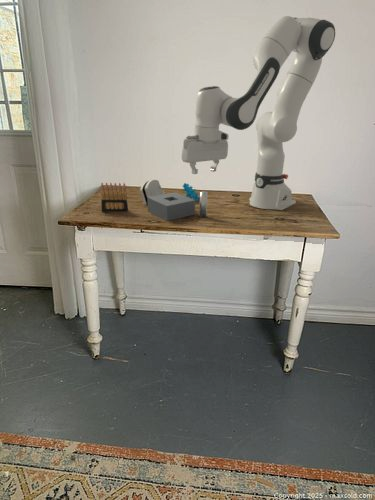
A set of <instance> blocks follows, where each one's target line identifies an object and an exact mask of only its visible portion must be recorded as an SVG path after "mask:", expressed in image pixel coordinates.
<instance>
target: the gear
mask: <svg viewBox="0 0 375 500" xmlns="http://www.w3.org/2000/svg"><path fill="white" fill-rule="evenodd" d="M182 188H183V191H185V196H186V197H188V198H191V199H193V200H195V202H198V201H199V200H200V196H199V194H198V193H197V191H196V190H197V189H196V188H194V189H193V186H192V185H190V184H189V183H186V182H184V183H183V185H182Z"/></svg>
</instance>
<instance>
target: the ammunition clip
mask: <svg viewBox="0 0 375 500" xmlns="http://www.w3.org/2000/svg"><path fill="white" fill-rule="evenodd" d="M100 196H101V197H100V199H101V203H100V204H101V212H102V213H103V212H104V213H106V212H107V213H112V212H113V213H114V212H115V213H117V212H118V213H128V212H129V206H128V194H127V187H126V184H125V182H123V185H122V184H121V183H120V182H119V183H118V187H117V183H116V182H114V185H113V184H112V182H109V184H108V183H107V182H106V183H105V185H104V183H103V182H101V184H100Z"/></svg>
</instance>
